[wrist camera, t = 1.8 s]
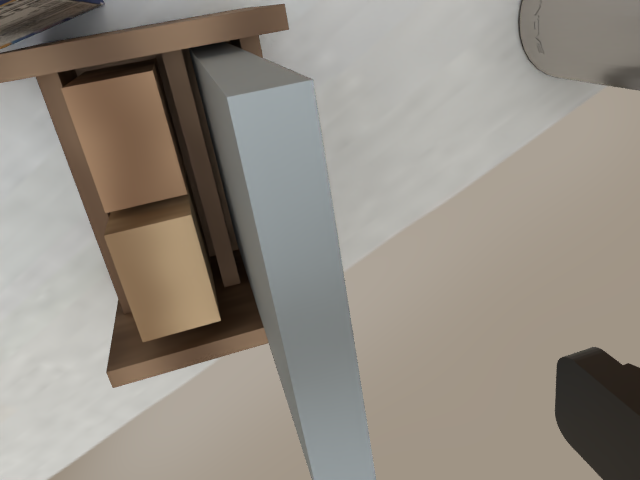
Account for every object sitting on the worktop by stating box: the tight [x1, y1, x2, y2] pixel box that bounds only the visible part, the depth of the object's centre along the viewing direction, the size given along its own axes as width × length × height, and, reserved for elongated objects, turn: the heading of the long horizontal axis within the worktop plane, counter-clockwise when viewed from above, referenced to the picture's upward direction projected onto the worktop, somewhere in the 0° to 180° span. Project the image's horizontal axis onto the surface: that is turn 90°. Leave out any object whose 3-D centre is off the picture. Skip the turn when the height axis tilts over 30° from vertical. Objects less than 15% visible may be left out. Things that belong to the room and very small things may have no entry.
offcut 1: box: [61, 58, 187, 213], centre depth 28 cm, size 4×6×8 cm, turn 10°
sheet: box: [189, 42, 376, 480], centre depth 24 cm, size 2×13×22 cm, turn 9°
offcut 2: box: [104, 163, 221, 342], centre depth 30 cm, size 4×6×10 cm, turn 9°
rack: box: [0, 4, 289, 388], centre depth 30 cm, size 12×16×12 cm
